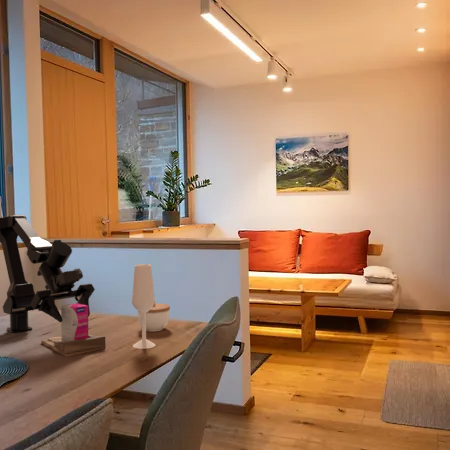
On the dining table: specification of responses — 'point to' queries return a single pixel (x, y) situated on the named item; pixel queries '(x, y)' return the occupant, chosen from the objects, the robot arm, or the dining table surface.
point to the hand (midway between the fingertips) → (75, 318)
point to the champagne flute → (143, 299)
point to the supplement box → (74, 322)
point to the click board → (75, 345)
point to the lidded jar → (156, 317)
